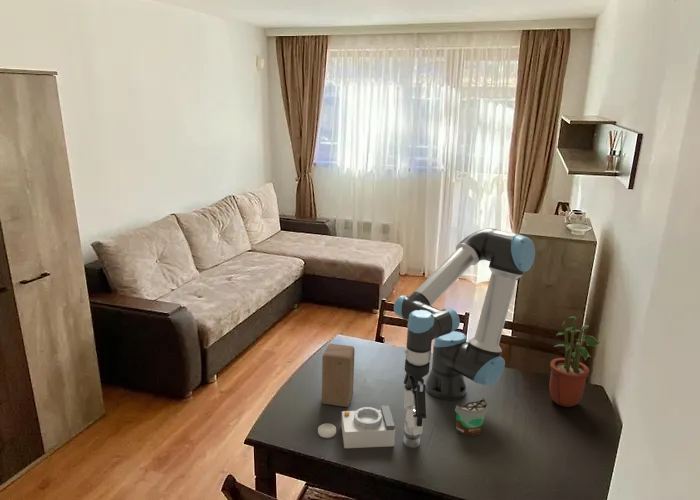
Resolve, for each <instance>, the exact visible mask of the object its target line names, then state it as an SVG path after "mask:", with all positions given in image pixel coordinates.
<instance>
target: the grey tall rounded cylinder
mask: <svg viewBox="0 0 700 500" xmlns="http://www.w3.org/2000/svg"><path fill="white" fill-rule="evenodd" d="M414 414H416V413H415V404H413V405H411V406H408V407H407V408H405V416H404V428H403V429H404V431H403V445H405V446H406V447H409V448H417V447H419V446H420V444H421V434H413V426H414V417H413V415H414Z"/></svg>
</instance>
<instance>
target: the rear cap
mask: <svg viewBox="0 0 700 500" xmlns="http://www.w3.org/2000/svg"><path fill="white" fill-rule="evenodd" d="M317 434H318V435H319V437H321V438H324V439H330V438H332V437H334V436H335V435H336V434H337V427H336V426H335V425H334V424H333V423H328V422H327V423H326V422H325V423H323V424H321V425H319V426H318V428H317Z"/></svg>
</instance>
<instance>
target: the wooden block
mask: <svg viewBox="0 0 700 500" xmlns="http://www.w3.org/2000/svg"><path fill="white" fill-rule="evenodd" d="M355 353H356V351H355V347H354V346H352V345H345V344H344V345H343V344H338V343H337V344H336V343H329V344H328V345H327V347H326V349H325V350H324V352H323V354H322V358H321V360H322V361H321V363H322V364H321V384H322V385H321V403H322V404H323V405H329V406H334V407H335V406H336V407H344V408H347V407H349V405H350V403H351V400H352V397H353V394H354V384H355V383H354V379H355V376H354V375H355Z"/></svg>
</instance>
